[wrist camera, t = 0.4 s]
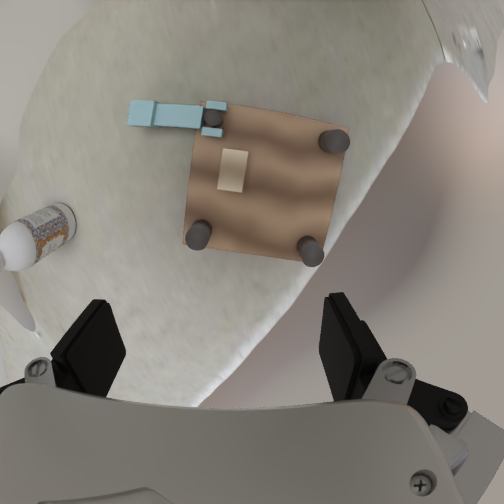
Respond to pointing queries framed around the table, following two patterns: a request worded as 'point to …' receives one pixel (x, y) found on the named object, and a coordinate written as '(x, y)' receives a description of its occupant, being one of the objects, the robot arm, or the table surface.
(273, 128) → the stool seat
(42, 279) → the table surface
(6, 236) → the bath foam
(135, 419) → the robot arm
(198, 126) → the leg
